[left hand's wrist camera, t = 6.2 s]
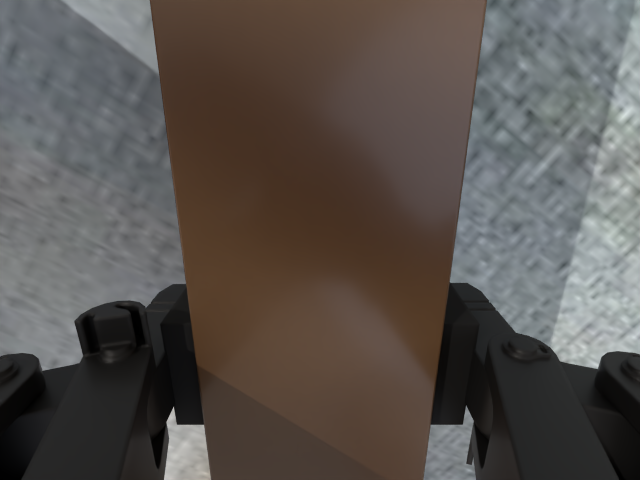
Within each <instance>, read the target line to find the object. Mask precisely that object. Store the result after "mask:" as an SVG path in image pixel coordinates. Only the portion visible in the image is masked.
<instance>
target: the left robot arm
mask: <svg viewBox="0 0 640 480" xmlns="http://www.w3.org/2000/svg"><path fill="white" fill-rule="evenodd" d="M74 322H75V326H76V329H77V333H78V337H79V341H80V345H81V349H82V353H83V358H82V360H81V362H80V363H79V364H75V365H70V366H65V367H60V368H55V369H50V370H45V371H42V368H41V365H40V362H39V359H38V358H37V357H36V356H34V355H33V354H25V353H19V354H9V355H3V356H1V357H0V480H164V475H165V467H166V459H167V451H168V443H169V435H168V429H167V423H166V422H167V419H168V417H169V415H170V413H171V411H172V409H173V407H174V410H175V416H176V422H177V425H204V419H203V411H202V403H201V396H200V388H199V380H198V372H197V364H196V357H195V349H194V341H193V333H192V325H191V318H190V310H189V302H188V294H187V286H186V284H173V285H171V286H169V287H167V288H166V289H164V290H162V291H161V292H159V293H158V294H157V296H156V297H155V298H154V299H153V300H152V302H151V304H149V305H148V306H147V308H145V306H144V305H142V304H141V303H139V302H134V301H116V302H111V303H106V304H103V305H100V306H97V307H94V308H92V309H90V310H88V311H86V312H85V313H83V314H81V315H80V316H79V317H78V318H77V319H76V320H75V321H74ZM466 405H467V408H468V410H469V412H470V414H471V416H472V418H473V420H474V423H473V429H472V434H471V440H470V445H469V451H468V456H467V463H466V464H470V465H472V460H473V458H474V466H475V474H476V480H640V354H636V353H628V352H620V351H616V352H609V353H606V354H605V355H604V356H602V358H601V361H600V364H599V367H598V369H594V368H589V367H584V366H579V365H573V364H568V363H564V362H560V361H559V359H558V357H557V355H556V354H555V353H554V351H553V350H552V349H551V348H550V347H549V346H547V345H546V344H544V343H543V342H541V341H539V340H537V339H535V338H532V337H530V336H527V335H523V334H518V333H515V331H514V330H513V329H512V328H511V327H510V325H509V324H508V323H507V322H506V321H505V319H504V318H503V317H502V316H501V315H500V313H499V312H498V311H496V310H495V307H494V306H493V305H492V304H491V303H489V300H488V299H487V298H486V297H485V296H484V294H483V293H482V292H481V291H480V290H478V289H476V288H475V287H473V286H471V285H470V284H468V283H450V282H449V290H448V297H447V305H446V312H445V320H444V328H443V335H442V343H441V350H440V358H439V365H438V373H437V380H436V388H435V395H434V403H433V410H432V418H431V425H463V420H464V414H465V408H466Z"/></svg>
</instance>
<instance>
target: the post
mask: <svg viewBox="0 0 640 480" xmlns="http://www.w3.org/2000/svg"><path fill="white" fill-rule="evenodd" d="M486 4H487V0H150V5H151V13H152V21H153V29H154V37H155V44H156V52H157V60H158V68H159V76H160V83H161V91H162V99H163V107H164V115H165V122H166V130H167V138H168V146H169V154H170V161H171V169H172V177H173V185H174V193H175V200H176V208H177V216H178V224H179V232H180V240H181V247H182V255H183V263H184V271H185V279H186V286H187V294H188V302H189V310H190V318H191V325H192V333H193V341H194V349H195V357H196V364H197V372H198V380H199V388H200V396H201V403H202V411H203V419H204V427H205V435H206V443H207V450H208V458H209V466H210V474H211V480H423V478H424V470H425V463H426V455H427V448H428V440H429V433H430V425H431V418H432V410H433V403H434V395H435V388H436V380H437V373H438V365H439V358H440V350H441V343H442V335H443V328H444V320H445V312H446V305H447V297H448V290H449V282H450V275H451V267H452V260H453V252H454V245H455V237H456V230H457V222H458V215H459V207H460V200H461V192H462V185H463V177H464V170H465V162H466V155H467V147H468V140H469V132H470V125H471V117H472V110H473V102H474V94H475V87H476V79H477V72H478V64H479V57H480V49H481V42H482V34H483V27H484V19H485V12H486Z"/></svg>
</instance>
